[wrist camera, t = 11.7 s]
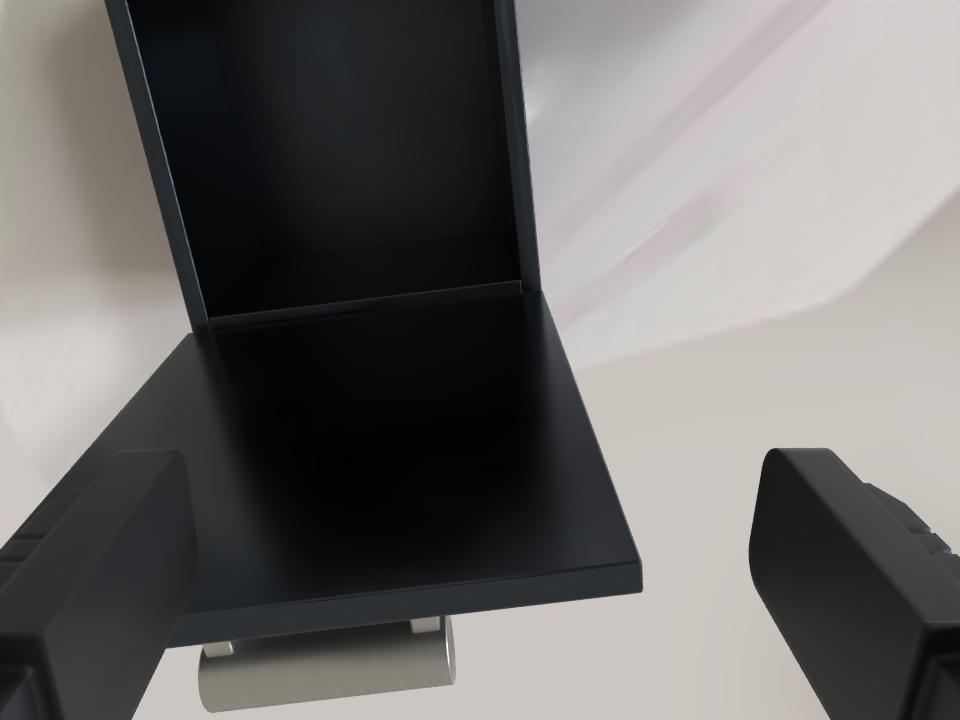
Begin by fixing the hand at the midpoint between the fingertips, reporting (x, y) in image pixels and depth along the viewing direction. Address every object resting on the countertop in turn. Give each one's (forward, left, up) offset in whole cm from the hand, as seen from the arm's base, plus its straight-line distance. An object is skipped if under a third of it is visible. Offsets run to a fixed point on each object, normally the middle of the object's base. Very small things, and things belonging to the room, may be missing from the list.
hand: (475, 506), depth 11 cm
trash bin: (-5, -4, -32) cm, 33 cm away
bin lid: (+3, -4, -12) cm, 13 cm away
